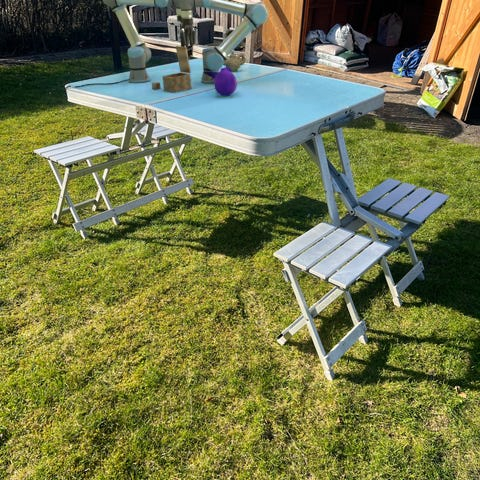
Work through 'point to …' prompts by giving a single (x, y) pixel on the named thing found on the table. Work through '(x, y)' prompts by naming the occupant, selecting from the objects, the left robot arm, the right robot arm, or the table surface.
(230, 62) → the teapot
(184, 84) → the chest
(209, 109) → the table surface
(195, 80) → the table surface
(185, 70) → the lid
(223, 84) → the toy
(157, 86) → the block
